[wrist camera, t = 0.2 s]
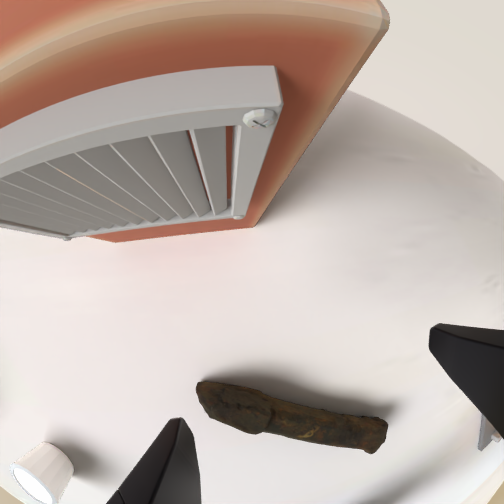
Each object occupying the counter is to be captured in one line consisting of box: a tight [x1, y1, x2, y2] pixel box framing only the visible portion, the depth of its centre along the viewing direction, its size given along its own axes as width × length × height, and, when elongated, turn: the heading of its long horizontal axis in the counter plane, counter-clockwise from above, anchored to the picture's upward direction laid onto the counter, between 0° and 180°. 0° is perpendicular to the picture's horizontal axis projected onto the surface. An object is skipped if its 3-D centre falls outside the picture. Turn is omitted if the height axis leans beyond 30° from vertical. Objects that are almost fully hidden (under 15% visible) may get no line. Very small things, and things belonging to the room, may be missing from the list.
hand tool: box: [196, 382, 388, 454], centre depth 21 cm, size 19×4×5 cm, turn 64°
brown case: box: [0, 0, 390, 243], centre depth 13 cm, size 21×7×15 cm
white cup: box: [10, 442, 74, 504], centre depth 17 cm, size 7×7×7 cm
